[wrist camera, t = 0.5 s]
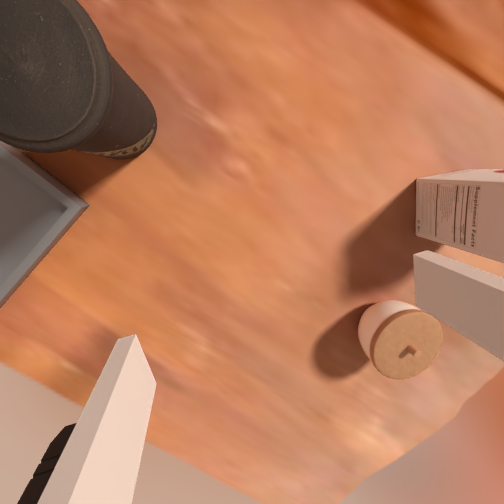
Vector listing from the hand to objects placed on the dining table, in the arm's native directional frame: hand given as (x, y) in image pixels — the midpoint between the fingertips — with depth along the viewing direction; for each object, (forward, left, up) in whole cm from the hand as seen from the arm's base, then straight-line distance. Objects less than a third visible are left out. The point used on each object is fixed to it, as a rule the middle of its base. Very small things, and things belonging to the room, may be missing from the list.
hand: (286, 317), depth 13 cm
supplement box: (+7, +31, -27) cm, 42 cm away
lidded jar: (+23, +18, -27) cm, 40 cm away
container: (-15, -9, -27) cm, 32 cm away
